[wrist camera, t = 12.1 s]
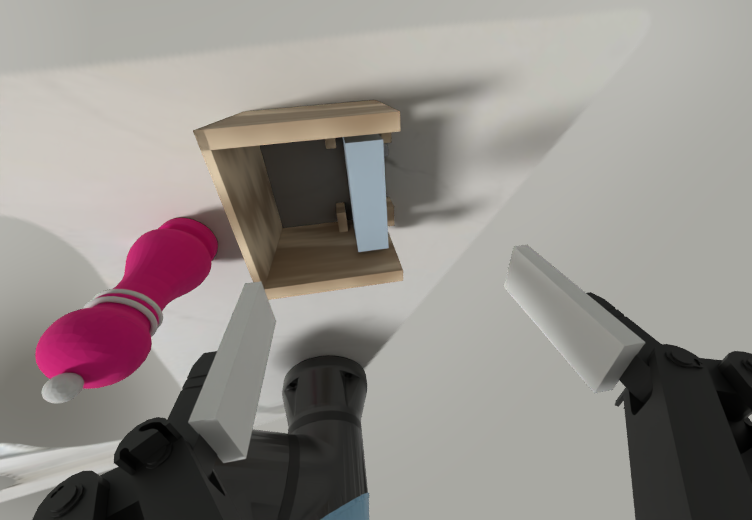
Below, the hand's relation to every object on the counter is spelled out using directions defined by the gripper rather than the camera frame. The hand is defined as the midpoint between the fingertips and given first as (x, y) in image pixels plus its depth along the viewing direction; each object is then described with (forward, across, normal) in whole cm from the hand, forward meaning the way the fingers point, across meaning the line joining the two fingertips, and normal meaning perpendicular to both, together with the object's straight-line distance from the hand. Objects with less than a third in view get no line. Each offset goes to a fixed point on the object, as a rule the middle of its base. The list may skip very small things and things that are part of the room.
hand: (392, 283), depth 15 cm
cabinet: (+21, +4, 0) cm, 21 cm away
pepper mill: (+21, +21, +6) cm, 30 cm away
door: (+21, 0, 0) cm, 21 cm away
